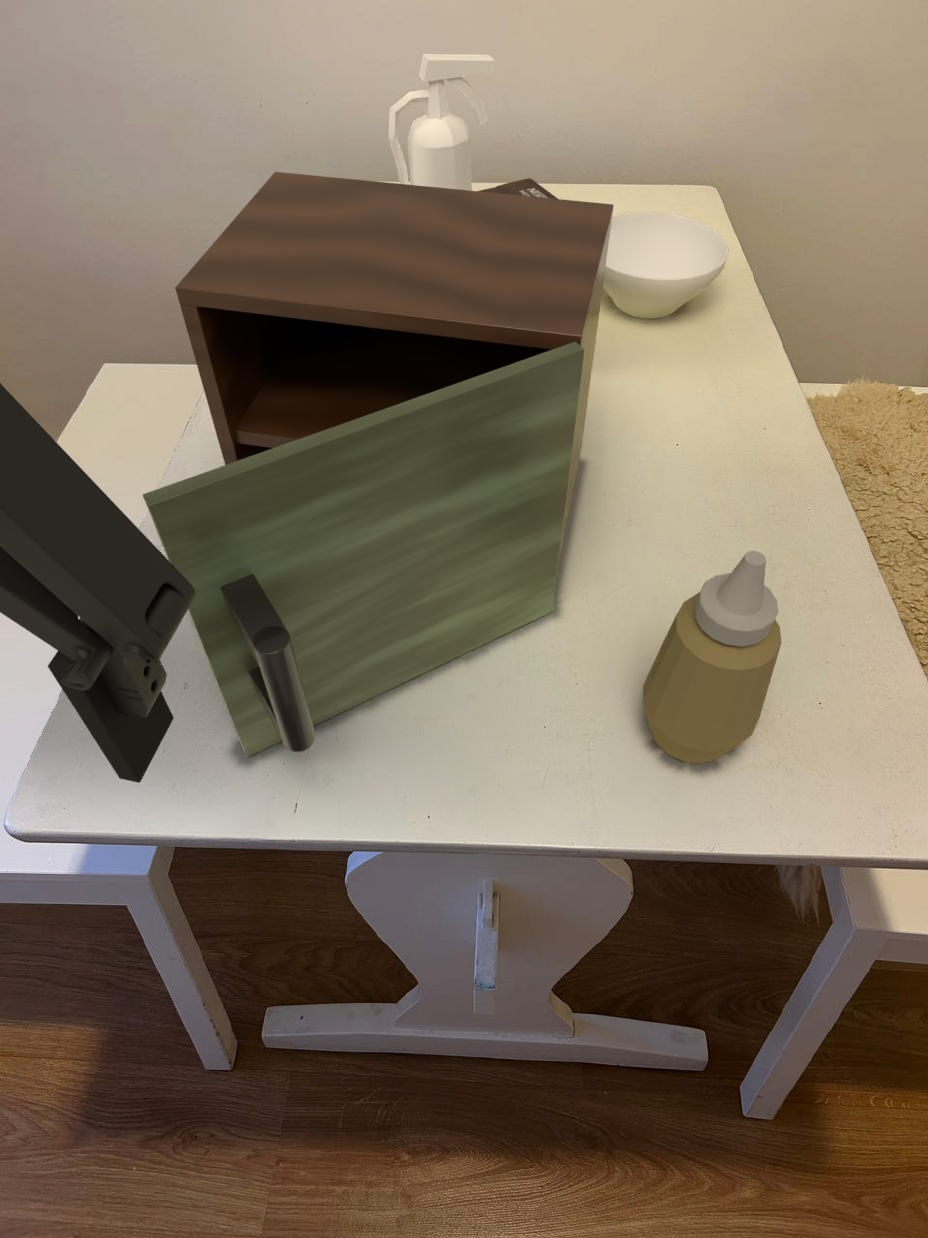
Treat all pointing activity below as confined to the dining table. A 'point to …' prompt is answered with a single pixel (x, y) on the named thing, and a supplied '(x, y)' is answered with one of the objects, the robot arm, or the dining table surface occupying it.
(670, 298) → the bowl
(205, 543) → the cupboard door
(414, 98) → the fire extinguisher
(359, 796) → the dining table surface
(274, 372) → the cupboard
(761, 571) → the squeeze bottle
